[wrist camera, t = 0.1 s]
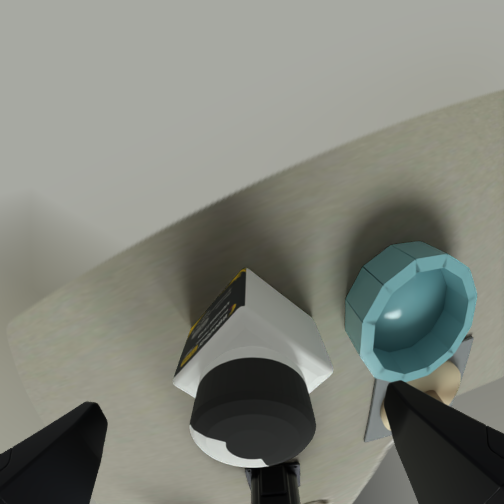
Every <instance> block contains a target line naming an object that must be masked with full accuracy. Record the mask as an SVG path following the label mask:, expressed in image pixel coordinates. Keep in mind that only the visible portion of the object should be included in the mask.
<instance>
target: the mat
mask: <svg viewBox="0 0 504 504" xmlns="http://www.w3.org/2000/svg"><path fill="white" fill-rule="evenodd" d="M472 342H473V337H472V336H471V337H469V338H466V339H463V341H462V342H461V344H460V346H459V347H458V349H457V350H456V352H455V353H454V354H453V356H451V357H450V358H449V359H448V360H450V361H451V362H452V363H453V364H454V365H455V366H456V367H457V368H458V369H459V371H460V375H461V379H462V376H463V373H464V370H465V367H466V364H467V360H468V357H469V353H470V350H471V346H472ZM460 382H461V381H460ZM389 383H390V382H389V381H385V380H381V379H377V378H375V384H374V391H373V397H372V403H371V408H370V413H369V418H368V423H367V428H366V433H365V437H364V442H369V441H373V440H376V439H380V438H383V437H387V436H390V435H392V433H391V431H390V430H388V429H387V428H386V427H385V426H384V424H383V422H382V419H381V417H380V408H381V404H382V402H383V399H384V398H385V394H386V389H387V385H388V384H389ZM455 396H456V395H455ZM454 399H455V397H454V398H453V400H452V401H451V403H450V404H449V405H448V406H450V407H451V406H452V404H453V401H454Z"/></svg>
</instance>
